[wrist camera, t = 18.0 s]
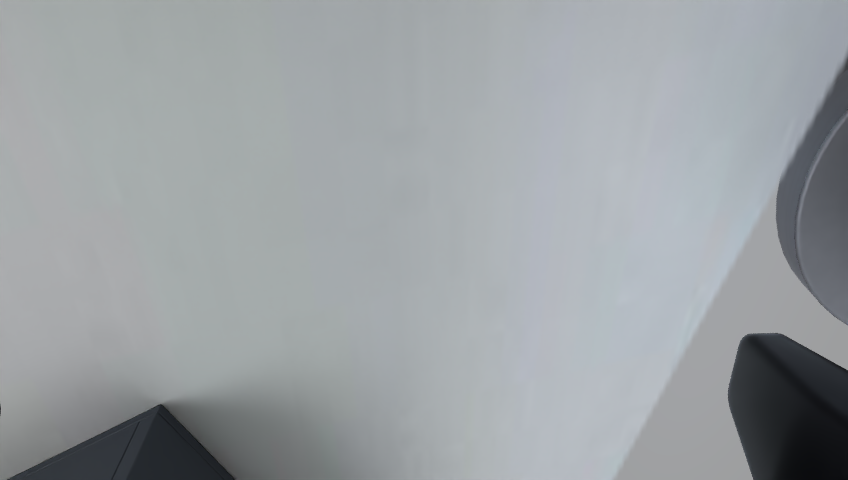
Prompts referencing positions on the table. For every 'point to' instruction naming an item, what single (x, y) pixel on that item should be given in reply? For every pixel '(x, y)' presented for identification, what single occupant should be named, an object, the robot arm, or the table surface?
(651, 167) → the table surface
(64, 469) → the box
